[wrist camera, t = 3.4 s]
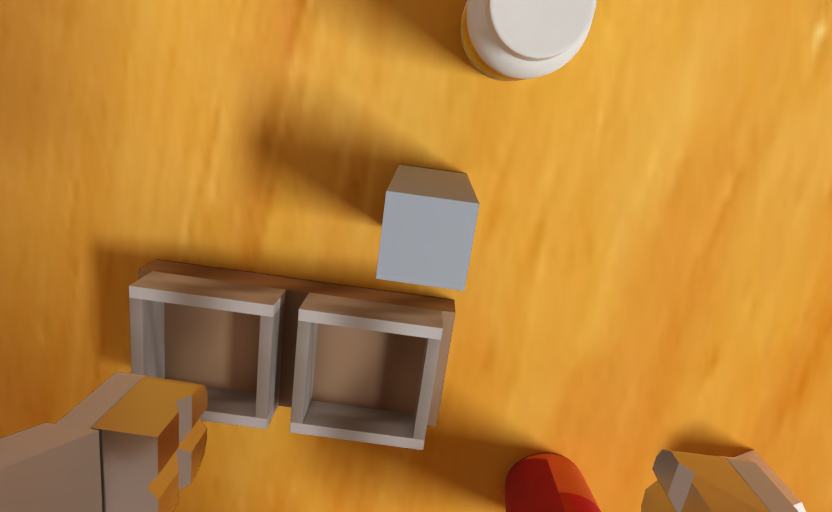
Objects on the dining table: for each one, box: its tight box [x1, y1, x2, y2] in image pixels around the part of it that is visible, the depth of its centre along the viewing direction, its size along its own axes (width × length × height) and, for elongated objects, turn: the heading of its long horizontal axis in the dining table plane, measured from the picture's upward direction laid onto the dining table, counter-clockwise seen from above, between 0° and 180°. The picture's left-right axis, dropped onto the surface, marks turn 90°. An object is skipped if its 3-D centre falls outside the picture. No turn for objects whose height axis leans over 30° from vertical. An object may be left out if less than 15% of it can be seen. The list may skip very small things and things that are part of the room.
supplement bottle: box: [460, 0, 596, 81], centre depth 24 cm, size 5×5×10 cm
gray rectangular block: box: [376, 164, 479, 291], centre depth 27 cm, size 4×4×9 cm
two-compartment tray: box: [129, 260, 455, 450], centre depth 32 cm, size 19×8×4 cm, turn 82°
